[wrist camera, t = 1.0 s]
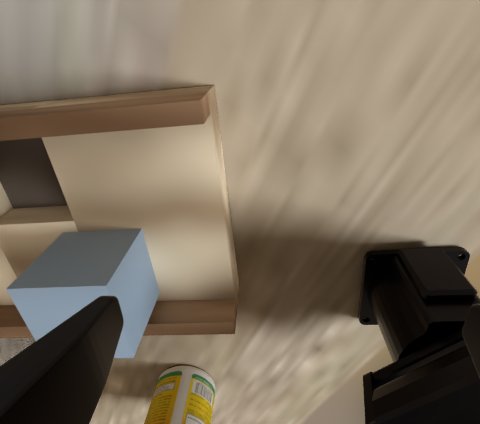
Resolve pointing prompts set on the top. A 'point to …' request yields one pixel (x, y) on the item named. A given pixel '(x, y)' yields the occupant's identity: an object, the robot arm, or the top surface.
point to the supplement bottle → (182, 397)
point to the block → (89, 282)
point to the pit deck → (124, 196)
